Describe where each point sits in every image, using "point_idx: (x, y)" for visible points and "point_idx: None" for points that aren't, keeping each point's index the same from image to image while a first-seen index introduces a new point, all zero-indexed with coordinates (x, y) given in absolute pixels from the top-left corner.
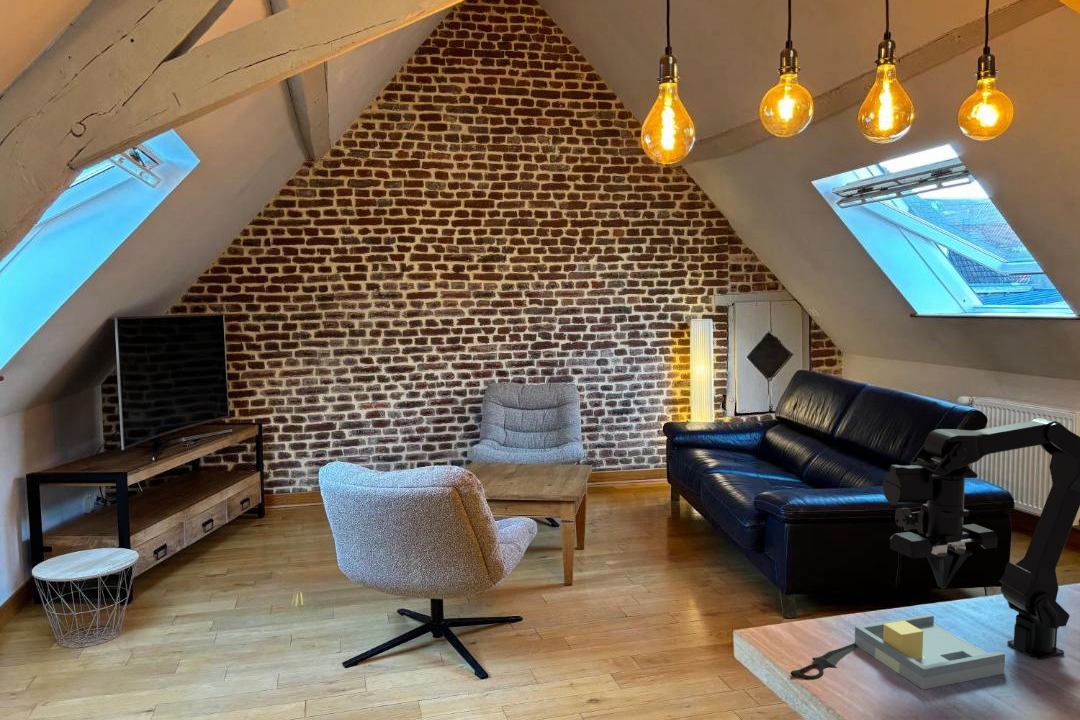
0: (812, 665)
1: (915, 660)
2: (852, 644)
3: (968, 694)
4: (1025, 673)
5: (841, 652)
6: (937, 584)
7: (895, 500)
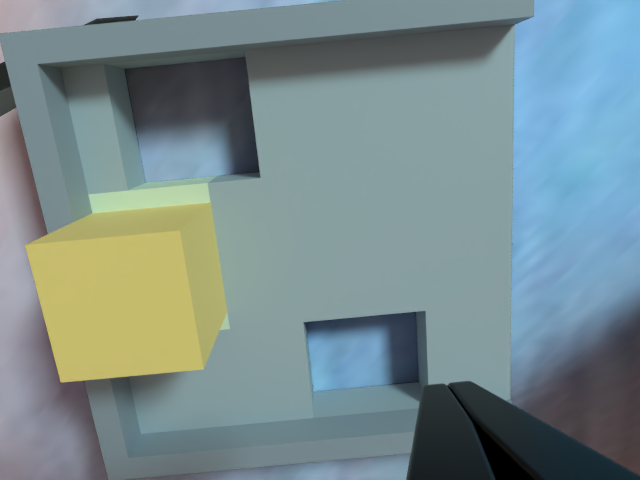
0: None
1: (117, 417)
2: None
3: (269, 475)
4: (564, 406)
5: None
6: (422, 390)
7: None
